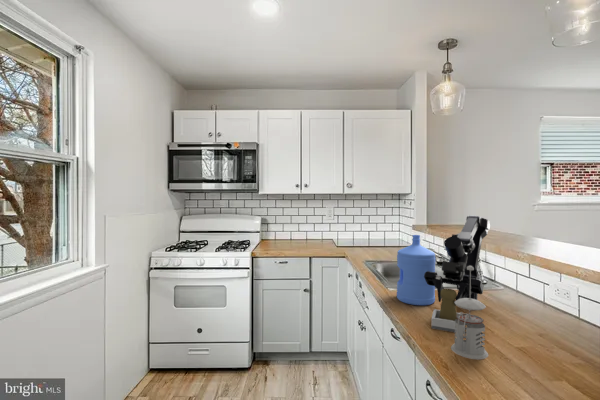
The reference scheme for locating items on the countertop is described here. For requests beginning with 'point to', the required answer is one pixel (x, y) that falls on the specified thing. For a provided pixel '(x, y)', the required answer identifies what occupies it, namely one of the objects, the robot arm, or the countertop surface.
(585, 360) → the countertop surface
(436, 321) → the grey square open box
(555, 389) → the countertop surface
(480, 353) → the french press
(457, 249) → the robot arm
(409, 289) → the water jug
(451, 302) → the cork
